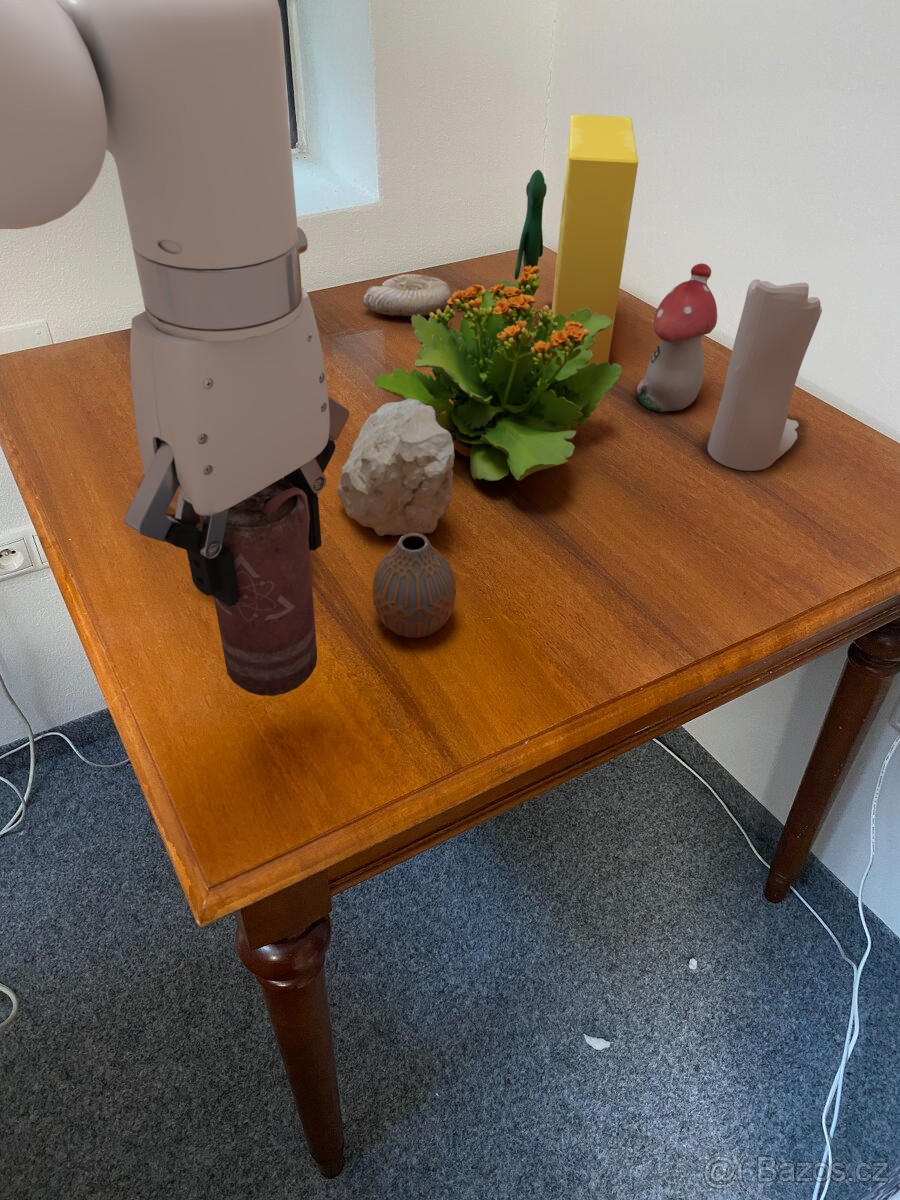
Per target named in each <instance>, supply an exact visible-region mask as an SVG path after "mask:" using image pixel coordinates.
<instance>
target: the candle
mask: <svg viewBox="0 0 900 1200" xmlns="http://www.w3.org/2000/svg"><path fill="white" fill-rule="evenodd" d="M809 287H810V285H809V283H807V282H796V283H795V282H794V283H789V284H783V285H781V284H780V285H776V284H773V282H770V281H768V280H767V281H766V280H760V279H752V281H751V282H750V283H749V284H748V287H747V291H746V296H745V299H744V304H743V308H742V312H741V316H740V319H739V323H738V327H737V330H736V335H735V340H734V342H733V347H732V352H731V355H730V359H729V363H728V368H727V372H726V376H725V381H724V386H723V389H722V394H721V398H720V402H719V405H718V409H717V412H716V415H715V418H714V422H713V425H712V429H711V432H710V435H709V439H708V442H707V446H706V447H707V452H708V454H709V456H711V458H712V459H713V460H715V461H716V462H717V463H719V464H720V465H723V466H725V467H728V468H731V469H734V470H737V471H744V472H752V471H753V472H754V471H761V470H765V469H768V468H769V467H770V466H772V465H773V464H774V463H775V462H776V461H777V460H778V459H779V458H780V457H781V456H783V455H785V453H786V452H788V451H789V450H790V449H791V448H792V447H793V445H794V444H795V442H796V441H798V432H797V431H796V430H797V428H799V422H798V421H797V420H794V419H790V418H788V416H789V412H790V407H791V403H792V397H793V393H794V389H795V386H796V382H797V379H798V376H799V372H800V369H801V366H802V364H803V361H804V359H805V356H806V353H807V351H808V347H809V346H810V343H811V340H812V338H813V337H814V336H813V335H814V333H815V330H816V329H817V325H818V323H819V321H820V318H821V315H822V312H823V308H822V305H821V300H820V299H819V297H818V296H810V297H809V294H810V293H809V290H810V288H809Z"/></svg>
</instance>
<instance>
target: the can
mask: <svg viewBox="0 0 900 1200" xmlns="http://www.w3.org/2000/svg"><path fill="white" fill-rule="evenodd" d="M199 516H200V522H201V527H203V522H204V516H201V515H199ZM309 520H310V515H309V508H308V501H307V495H306V494H305V493H304V492H303V490H301V489H298V488H296V487H294V486H293V485H292V484H291V483H290V482H288V481H286V480H284V479H282V478H281V479H279V480H278V481H276V482H274V483H273V484H271V485H269V486H267V487H266V488H264V489H262V490H260V491H259V492H257V493H255V494H254V495H252V496H250V497H248V498H246V499H245V500H243V501H241V502H239V503H238V504H236V505H234V506H232V507H230V508H229V514H228V519H227V524H226V530H225V535H224V540H223V546H225V547H227V548H228V549H230V550H231V552H232V553H233V558H234V564H235V571H236V577H237V583H238V589H239V595H240V598H239V602H238V603H236V604H235V605H233V606H232V607H229V606H227V605H226V604H224V603H223V602H221V601H220V600H218V599H216V598H215V597H213V600H214V606H215V613H216V617H217V623H218V629H219V634H220V640H221V646H222V651H223V657H224V664H225V668H226V674H227V675H228V677H229V679H230V680H231V681H232V683H233V684H235V685H236V686H238V687H239V688H241V689H242V690H244V691H246V692H247V693H249V694H253V695H257V696H263V697H264V696H266V697H274V696H279V695H285V694H287V693H289V692H292V691H294V690H296V689H298V688H299V687H300V686H302V685H303V684H304V683H305V682H307V680H308V679H309V678H310V677H311V675H312V674H313V672H314V671H315V669H316V667H317V662H318V648H317V646H318V645H317V634H316V633H317V631H316V622H315V619H316V618H315V608H314V594H313V583H312V582H313V580H312V569H311V567H312V566H311V554H310V553H311V552H310V550H309V540H308V537H309Z"/></svg>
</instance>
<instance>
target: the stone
mask: <svg viewBox="0 0 900 1200" xmlns="http://www.w3.org/2000/svg"><path fill="white" fill-rule="evenodd" d="M436 415H437V414H436V413H435V410H434V409H433V408H432V406H427V405H424V404H423V403H422V402H420V401H419V400H416V399H410V398H408V399H407V400H404V399H403V400H401V401H397V402H395V401H393V402H392V401H391V402H386V403H383V404H382V405H381V406H380V407H379V408H378V409H376V411H375V412H373V413H371V414H370V415H369V416H368V417H367V419H366V420H365V422H364V423H363V425H362V426H361V428H360V431H359V434H358V437H357V438H356V440H355V441H354V443H353V445H352V449H351V451H350V452H349V458H347V459H346V462H345V464H344V465H343V466H342V467H341V472H340V479H339V483H338V485H337V489H336V490H337V496H338V498H339V499H340V501H341V504H342V506H343V508H344V509H345V512H346V514H347V516H348V517H349V518H350V519H353V520H355V521H356V522H357V523H359V525H361V526H363V527H364V528H367V527H368V528H370V529H371V528H372V529H373V530H374V532H375V534H377V535H378V536H379V537H383V536H386V535H389V536H401V535H403V536H404V535H406V534H409V533H419V534H422V535H425V534H431V533H433V532H434V531H435V530H436V528H437V526H438V520H439V519H440V518H442V517H443V516H444V514H445V510H446V507H448V506H449V505H450V503H451V500H452V497H453V496H452V495H453V482H454V470H453V467H454V462H455V456H456V455H455V449H454V446H453V441H452V437H451V434H450V433H449V432H448V431H447V430H446V429H444V428H442V427H441V426H440V425H439V424H438V423H437V421H436V418H437V416H436Z"/></svg>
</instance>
